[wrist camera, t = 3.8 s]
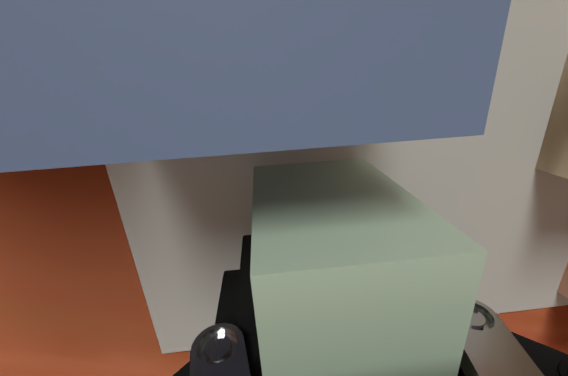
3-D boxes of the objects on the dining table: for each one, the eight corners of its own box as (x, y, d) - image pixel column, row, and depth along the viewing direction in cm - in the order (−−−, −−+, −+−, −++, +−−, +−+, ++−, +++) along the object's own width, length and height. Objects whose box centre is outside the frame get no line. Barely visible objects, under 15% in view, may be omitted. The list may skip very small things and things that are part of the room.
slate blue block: (355, -43, 8) (574, -312, 3) (351, 102, 10) (484, 134, 4) (103, -34, 8) (-310, -337, 2) (139, 116, 9) (-46, 176, 4)
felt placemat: (672, 288, 15) (678, 291, 14) (163, 349, 13) (162, 353, 13) (902, -119, 9) (916, -123, 9) (29, -101, 7) (23, -105, 7)
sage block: (355, 322, 13) (426, 499, 8) (270, 332, 13) (280, 523, 7) (363, 157, 10) (487, 251, 5) (253, 166, 10) (250, 276, 4)
